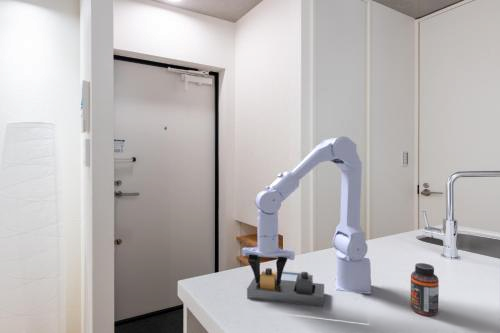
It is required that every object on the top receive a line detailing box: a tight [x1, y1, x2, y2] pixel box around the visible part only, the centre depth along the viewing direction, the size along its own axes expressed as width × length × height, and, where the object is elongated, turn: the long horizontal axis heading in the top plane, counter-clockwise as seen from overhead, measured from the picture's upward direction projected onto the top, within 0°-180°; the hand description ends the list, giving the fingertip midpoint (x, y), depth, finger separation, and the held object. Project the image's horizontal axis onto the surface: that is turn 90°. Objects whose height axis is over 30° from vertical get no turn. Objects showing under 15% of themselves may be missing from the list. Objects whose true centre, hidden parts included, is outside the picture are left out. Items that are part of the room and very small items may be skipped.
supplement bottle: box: [410, 262, 440, 317], centre depth 74 cm, size 6×6×11 cm
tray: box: [281, 270, 311, 281], centre depth 92 cm, size 11×11×1 cm
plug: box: [260, 267, 277, 290], centre depth 83 cm, size 4×4×7 cm
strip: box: [246, 276, 325, 308], centre depth 82 cm, size 20×8×3 cm, turn 75°
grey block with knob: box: [296, 271, 314, 294], centre depth 80 cm, size 4×4×7 cm
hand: (268, 283), depth 83 cm, fingers open, 5 cm apart
